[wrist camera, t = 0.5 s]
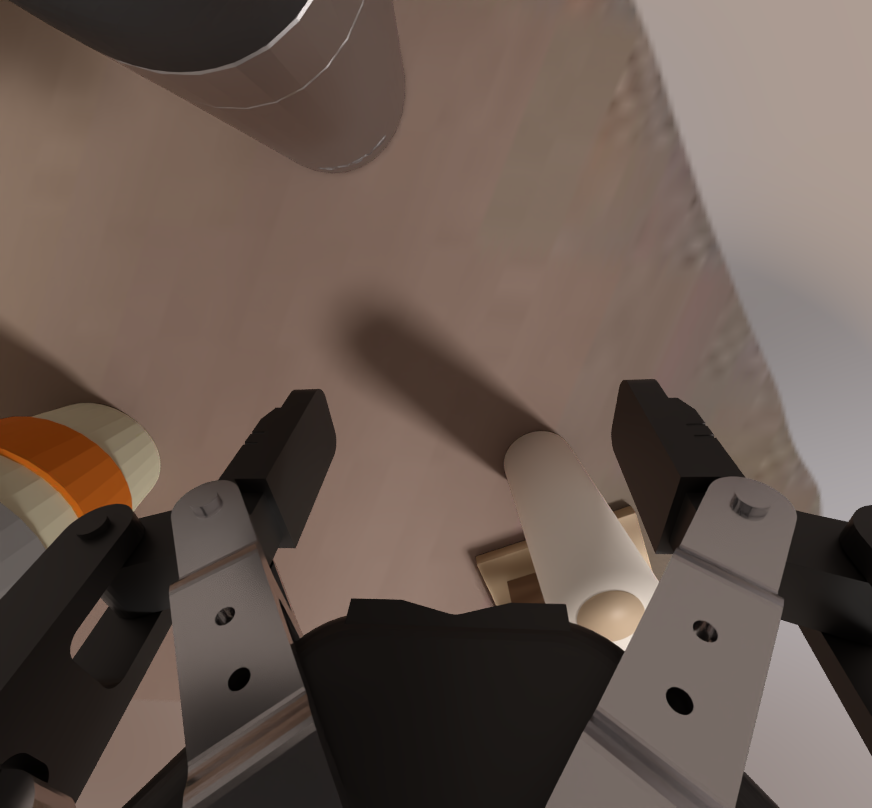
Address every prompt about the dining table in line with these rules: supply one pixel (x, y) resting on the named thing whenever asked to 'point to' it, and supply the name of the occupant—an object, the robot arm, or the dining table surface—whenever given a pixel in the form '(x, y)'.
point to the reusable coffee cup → (66, 476)
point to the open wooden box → (515, 571)
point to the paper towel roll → (577, 539)
